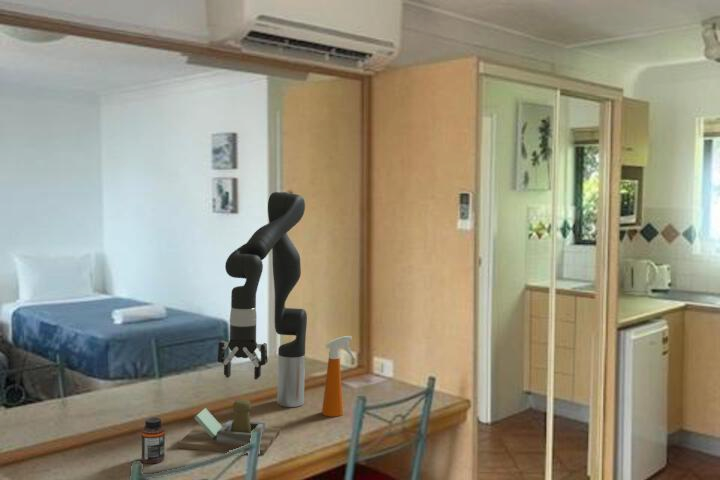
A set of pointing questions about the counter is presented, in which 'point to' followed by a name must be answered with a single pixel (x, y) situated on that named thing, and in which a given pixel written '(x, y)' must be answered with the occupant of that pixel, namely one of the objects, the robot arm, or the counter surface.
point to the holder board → (228, 438)
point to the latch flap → (208, 423)
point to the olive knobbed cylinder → (242, 416)
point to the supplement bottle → (153, 441)
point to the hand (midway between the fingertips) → (242, 377)
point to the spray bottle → (334, 378)
